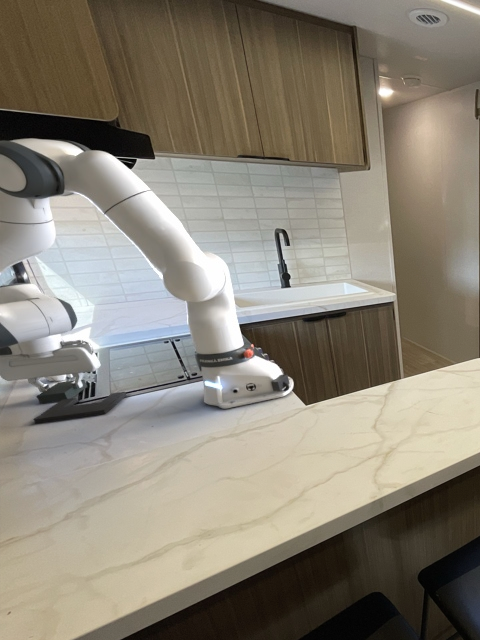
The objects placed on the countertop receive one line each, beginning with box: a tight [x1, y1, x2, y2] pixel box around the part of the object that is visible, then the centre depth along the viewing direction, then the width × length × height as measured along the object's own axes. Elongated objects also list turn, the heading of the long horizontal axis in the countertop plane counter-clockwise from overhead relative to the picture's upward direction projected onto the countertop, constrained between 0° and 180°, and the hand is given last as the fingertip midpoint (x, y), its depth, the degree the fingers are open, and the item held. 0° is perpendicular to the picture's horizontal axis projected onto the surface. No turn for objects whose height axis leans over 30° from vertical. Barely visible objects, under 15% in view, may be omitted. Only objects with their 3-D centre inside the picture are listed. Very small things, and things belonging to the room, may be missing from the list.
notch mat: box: [33, 391, 127, 424], centre depth 107 cm, size 14×12×1 cm
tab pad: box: [36, 379, 88, 405], centre depth 115 cm, size 6×10×2 cm, turn 21°
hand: (62, 389), depth 115 cm, fingers closed on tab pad, 6 cm apart
